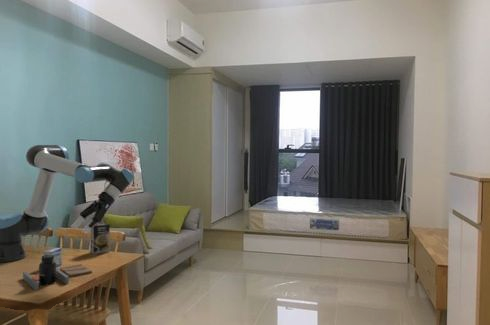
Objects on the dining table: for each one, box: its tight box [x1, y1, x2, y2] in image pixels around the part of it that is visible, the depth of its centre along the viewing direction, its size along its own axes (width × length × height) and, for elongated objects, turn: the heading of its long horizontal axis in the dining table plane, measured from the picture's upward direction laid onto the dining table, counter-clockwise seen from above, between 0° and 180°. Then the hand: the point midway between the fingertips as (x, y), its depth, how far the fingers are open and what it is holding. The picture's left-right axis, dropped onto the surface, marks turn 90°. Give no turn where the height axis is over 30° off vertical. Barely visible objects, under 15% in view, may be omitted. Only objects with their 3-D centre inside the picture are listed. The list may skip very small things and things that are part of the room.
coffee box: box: [89, 222, 111, 255], centre depth 225 cm, size 9×6×16 cm
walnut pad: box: [59, 263, 93, 278], centre depth 190 cm, size 14×10×1 cm
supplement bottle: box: [38, 254, 57, 286], centre depth 173 cm, size 7×7×12 cm
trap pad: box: [32, 274, 39, 282], centre depth 180 cm, size 6×9×1 cm, turn 133°
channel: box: [22, 267, 70, 291], centre depth 176 cm, size 20×13×3 cm
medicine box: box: [43, 247, 63, 268], centre depth 197 cm, size 8×4×9 cm, turn 168°
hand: (78, 230), depth 182 cm, fingers open, 13 cm apart
